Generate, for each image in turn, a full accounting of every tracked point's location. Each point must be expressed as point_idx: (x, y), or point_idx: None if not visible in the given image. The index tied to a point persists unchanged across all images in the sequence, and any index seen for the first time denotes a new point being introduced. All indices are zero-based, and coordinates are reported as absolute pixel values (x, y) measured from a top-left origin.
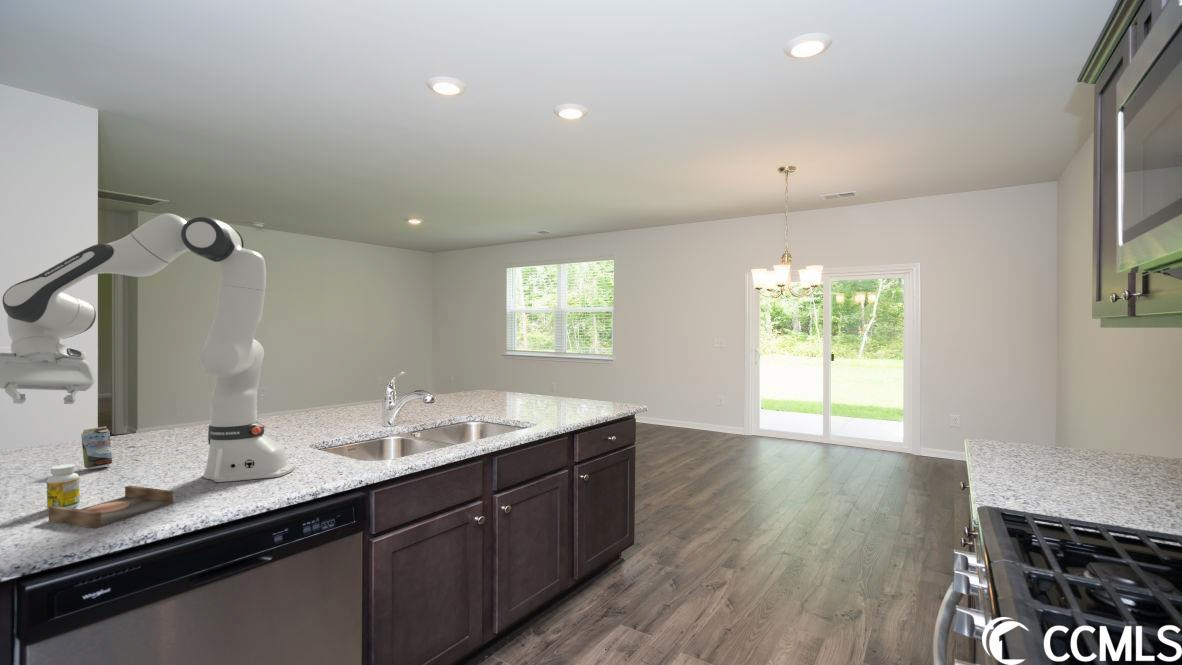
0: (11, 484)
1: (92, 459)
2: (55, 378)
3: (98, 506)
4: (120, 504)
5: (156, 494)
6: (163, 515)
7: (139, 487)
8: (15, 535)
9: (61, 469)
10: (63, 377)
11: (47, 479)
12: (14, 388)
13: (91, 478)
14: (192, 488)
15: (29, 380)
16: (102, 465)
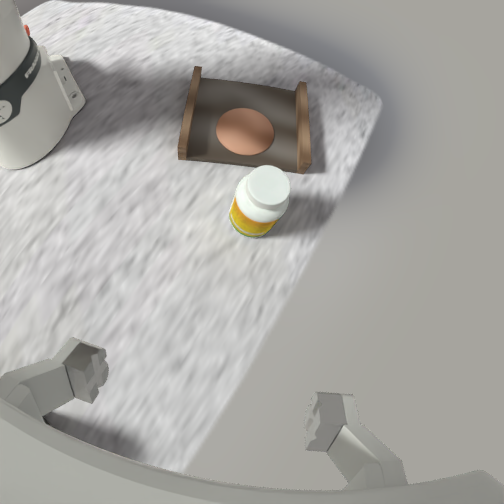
0: None
1: None
2: (82, 483)
3: (246, 145)
4: (228, 123)
5: (197, 89)
6: (239, 61)
7: (186, 121)
8: (350, 163)
9: (282, 171)
10: (20, 465)
11: (285, 209)
12: (377, 455)
13: None
14: (116, 111)
15: (306, 501)
16: None
